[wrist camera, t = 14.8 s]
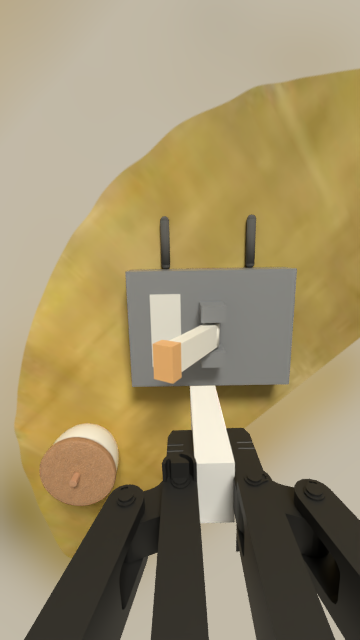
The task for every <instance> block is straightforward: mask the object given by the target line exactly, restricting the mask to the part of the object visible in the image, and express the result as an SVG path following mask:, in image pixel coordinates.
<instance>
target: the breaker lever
mask: <svg viewBox="0 0 360 640" xmlns="http://www.w3.org/2000/svg"><path fill="white" fill-rule="evenodd" d="M219 332H220V323H205V324H202V325H200V326H198V327H196V328H194V329H192V330H190V331H188V332H186V333H184V334H182V335H180V336H178V337H176V338H174V339H171V340H169V341H168V340H160V341H158V342H156V343H153V367H154V379H156V380H160V381H164V382H168V383H172V384H173V383H175V382H176V381H178V380H179V379H180V378H182V372H183V371H184V370H185V369H187V368H188V367H190V366H191V365H193V364H194V363H195V362H197V361H198V360H200V359H201V358H203V357H204V356H205V355H207V354H208V353H210V352H211V351H213V350H214V349H215V348H217V347H219Z"/></svg>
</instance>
